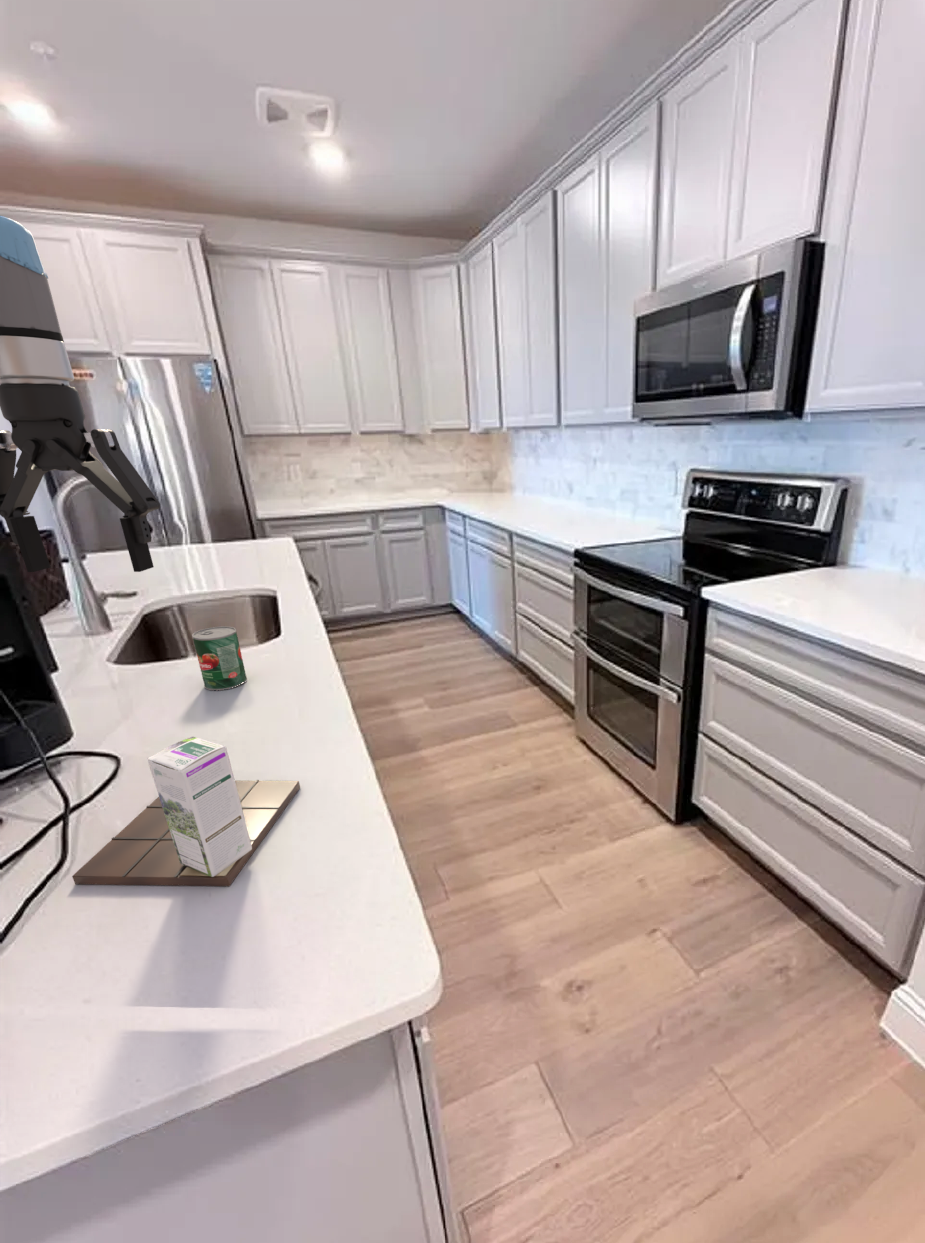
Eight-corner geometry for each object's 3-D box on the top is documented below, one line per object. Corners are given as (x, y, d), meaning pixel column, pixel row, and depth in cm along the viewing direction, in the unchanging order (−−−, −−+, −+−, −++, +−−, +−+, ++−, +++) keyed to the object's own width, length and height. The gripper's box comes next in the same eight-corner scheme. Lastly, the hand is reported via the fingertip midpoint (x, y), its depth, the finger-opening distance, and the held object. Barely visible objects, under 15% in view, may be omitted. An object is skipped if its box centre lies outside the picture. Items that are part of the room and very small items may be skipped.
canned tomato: (255, 676, 124) (244, 626, 120) (231, 691, 117) (219, 639, 113) (220, 674, 126) (209, 625, 121) (195, 689, 118) (182, 637, 114)
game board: (74, 884, 67) (71, 875, 67) (178, 786, 86) (176, 779, 85) (229, 886, 67) (227, 877, 66) (300, 787, 85) (298, 780, 85)
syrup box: (254, 848, 71) (229, 743, 65) (211, 880, 66) (180, 768, 60) (221, 836, 73) (194, 733, 68) (177, 866, 68) (144, 757, 63)
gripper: (164, 384, 70) (204, 563, 78) (-41, 387, 71) (20, 563, 79) (120, 379, 63) (170, 576, 71) (-106, 382, 64) (-31, 576, 72)
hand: (91, 570), depth 75 cm, fingers open, 13 cm apart
